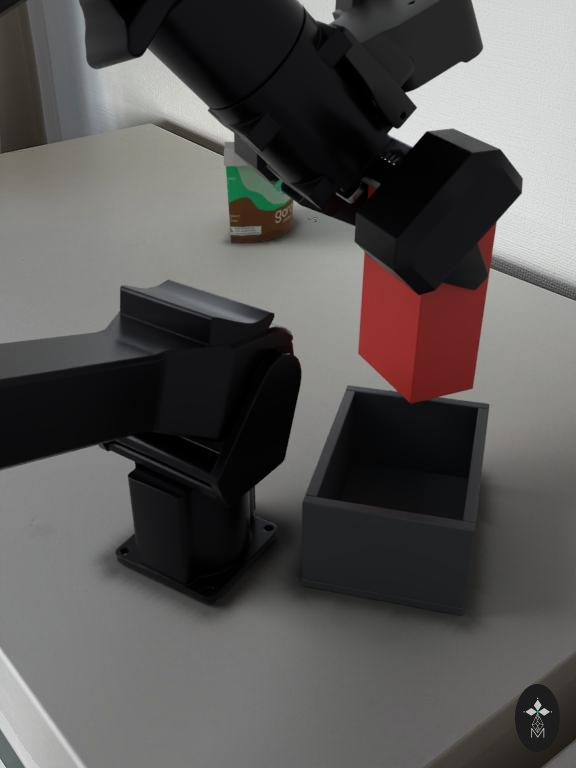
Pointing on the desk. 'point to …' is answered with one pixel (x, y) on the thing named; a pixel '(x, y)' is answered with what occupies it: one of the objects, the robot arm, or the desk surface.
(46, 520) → the desk surface
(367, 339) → the block
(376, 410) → the bin
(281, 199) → the food container
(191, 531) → the robot arm
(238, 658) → the desk surface
